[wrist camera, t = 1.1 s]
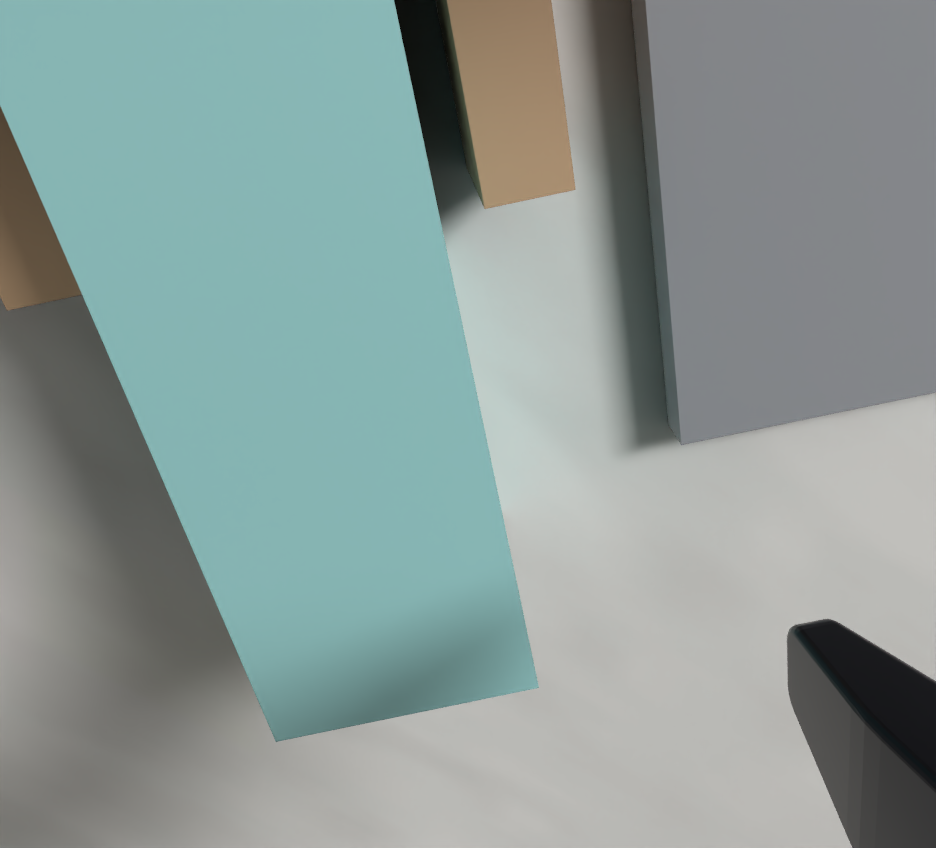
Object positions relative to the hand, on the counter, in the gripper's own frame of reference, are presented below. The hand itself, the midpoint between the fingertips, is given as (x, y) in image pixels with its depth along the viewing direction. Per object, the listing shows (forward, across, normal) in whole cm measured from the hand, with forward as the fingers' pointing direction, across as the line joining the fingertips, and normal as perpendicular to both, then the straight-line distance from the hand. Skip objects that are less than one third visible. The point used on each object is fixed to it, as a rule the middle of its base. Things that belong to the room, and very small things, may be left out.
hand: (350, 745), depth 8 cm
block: (+8, 0, -3) cm, 9 cm away
